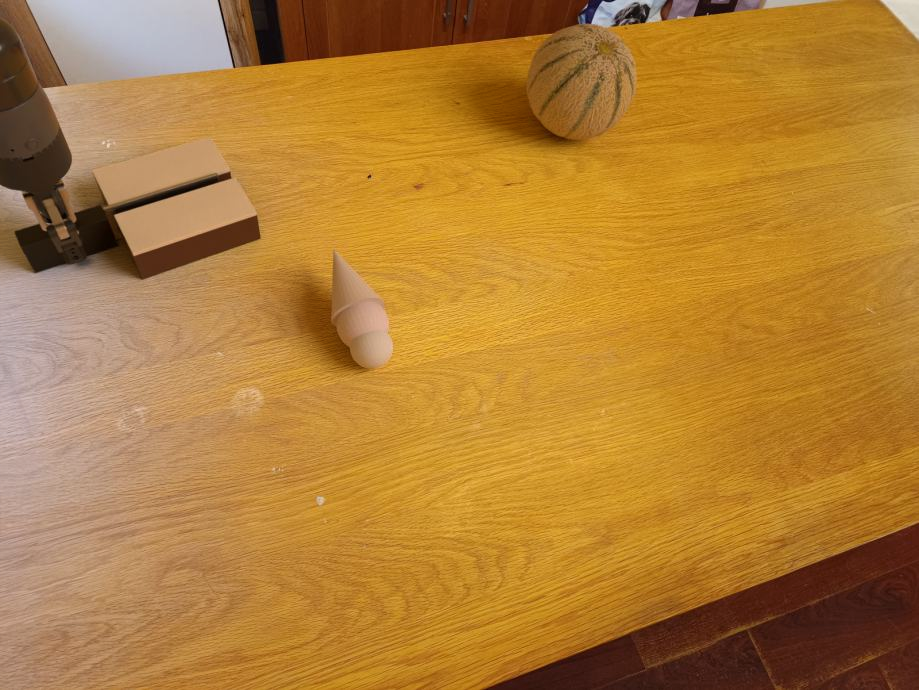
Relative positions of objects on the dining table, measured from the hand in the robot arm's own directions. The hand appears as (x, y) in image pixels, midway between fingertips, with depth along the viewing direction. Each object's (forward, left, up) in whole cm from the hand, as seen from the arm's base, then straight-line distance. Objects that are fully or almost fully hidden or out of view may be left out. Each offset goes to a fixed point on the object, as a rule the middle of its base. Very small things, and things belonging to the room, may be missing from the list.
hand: (72, 250), depth 83 cm
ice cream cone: (+23, -23, -1) cm, 33 cm away
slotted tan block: (+12, 0, 0) cm, 12 cm away
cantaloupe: (+66, -6, -1) cm, 67 cm away
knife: (+7, 0, 0) cm, 7 cm away
